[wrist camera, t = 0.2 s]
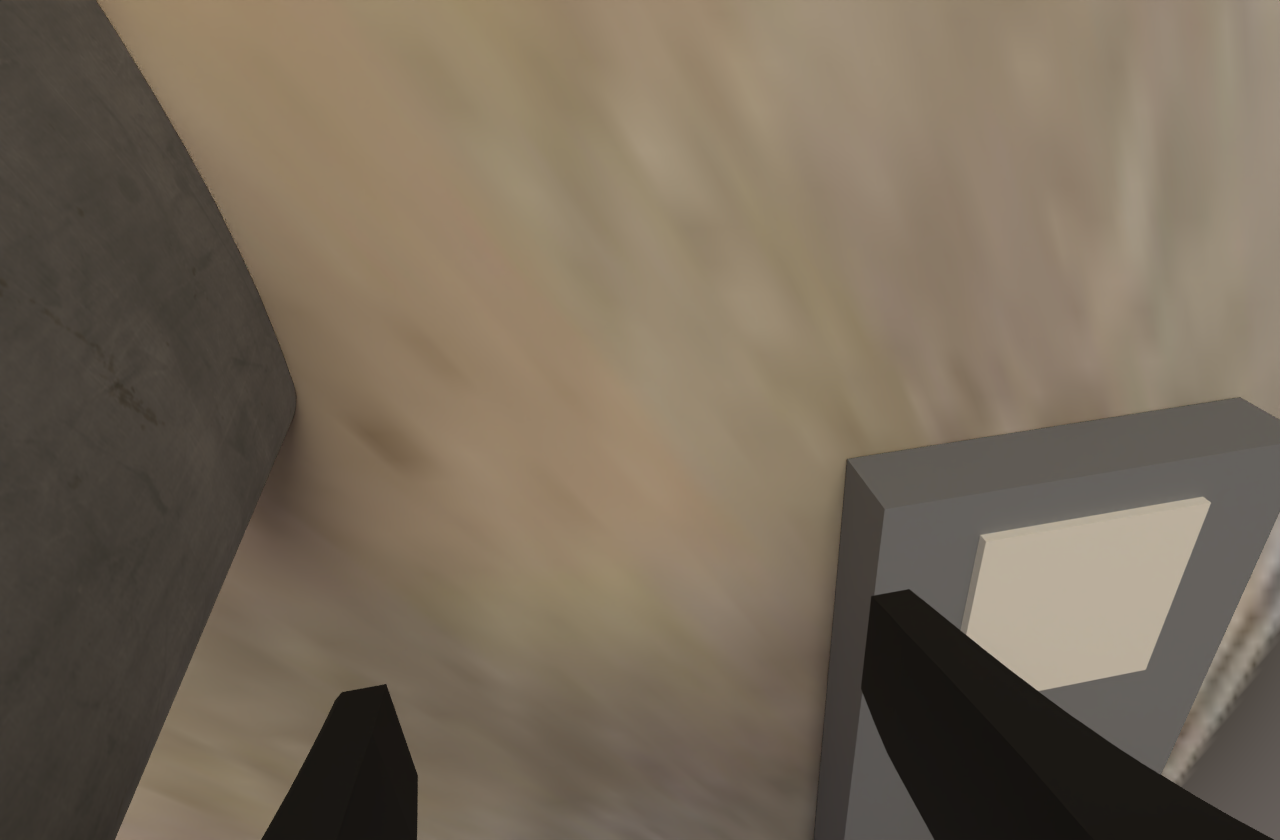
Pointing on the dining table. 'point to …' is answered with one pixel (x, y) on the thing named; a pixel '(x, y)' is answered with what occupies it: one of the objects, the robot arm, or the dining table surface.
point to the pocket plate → (1052, 576)
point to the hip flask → (111, 418)
